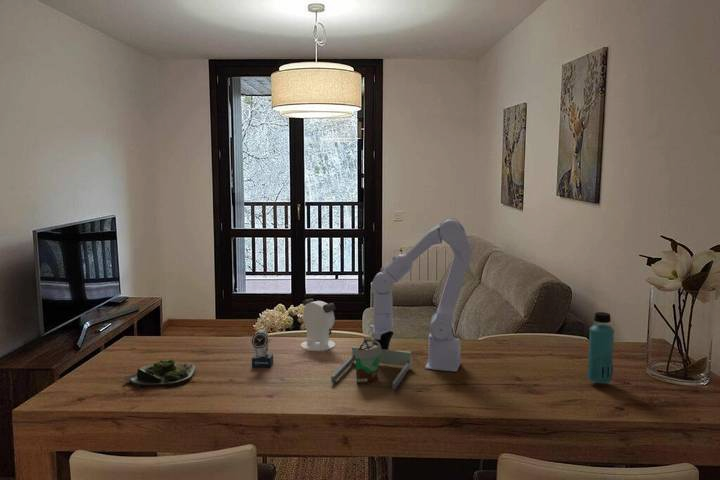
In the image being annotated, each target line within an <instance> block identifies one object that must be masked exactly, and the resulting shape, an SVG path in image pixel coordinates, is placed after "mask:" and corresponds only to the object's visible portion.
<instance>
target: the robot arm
mask: <svg viewBox="0 0 720 480" xmlns="http://www.w3.org/2000/svg"><path fill="white" fill-rule="evenodd" d="M443 242H444V243H446V244H447V245H449V246H450V249H451V250H452V252H453V253H454V254H453V257H452V260H451V264H450V267H449V271H448V273H447V278H446V281H445V284H444V287H443V290H442V294H441V296H440V301H439V304H438V306H437V308H436V311H435V313H433V314H432V316H431V318H430V326H429V331H430V332H429V334H428V356H427V357H428V360H427V363H426V365H425V367H424V369H426V370H435V371H445V372H454V373H455V372H458V370H459V368H460V365H461V363H462V361H461V359H462V358H461V349H462V348H461V347H462V344H461V343H462V342H461V339H460V338H457V337H454V334H453V327H452V323H453V317H454V313H455V312H454V311H455V307H456V304H457V302H458V298H459V296H460V292H461V289H462V285H463V282H464V278H465V276H466V273H467V270H468V269H467V268H468V265H469V262H470V260H471V257H472V247H471V245H470V242H469V240H468V236H467V232H466V230H465V228H464V226H463V225H462V223H461V222H460V221H459V220H458V219H456V218H454V217H446V218H445V219H443V220H442V221H441V223H438V224H437V225H436V226H434V227H433V228H431V229H429V230H428V232H426V233H425V235H423V236H422V238H421V239H419V240H418V241H417V242H416V243H415V244H414V246H412V247H411V248H410V249H409V250H408V251H407V252H406V253H398V254H397V255H396V254H395V255H394V256H392V258H391V259H392V260H391V261H390V262H389V263H388V264H386V265H385V267H383V266H382V267H381V268H380V271H379V272H378V273H376V275H375V276H374V278H373V279H372V288H373V303H372V304H373V307H372V308H373V324H370V325H369V329H372V331H373V332H372V334H371V335H372V339H373V340H376V341H378V342H379V343H380V345H381V349H387V350H389V347H390V344H391V340H392V337H393V335H394V334H395V333H394V331H393V330H394V325H393V323H394V322H393V315H394V314H393V312H394V311H393V305H394V304H393V303H394V302H393V299H394V298H393V286H394V284H395V283H398V282H400V280H401V279H403V277H405V276H406V275H407V274H408V273H409V272H410V271H411V270H413V268H414V267H413V266H414V265H413V262H414V261H416V260H417V259H418V258H419V257H420V256H421V255H424V253H425V252H426V251H427V250H429V249H430V248H431V247H432V246H434V245H441V244H443Z"/></svg>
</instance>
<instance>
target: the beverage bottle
mask: <svg viewBox="0 0 720 480" xmlns="http://www.w3.org/2000/svg"><path fill="white" fill-rule="evenodd" d="M593 321H594V322H597V323H594V324H593V325H591V326H590V327H589V335H588V336H589V340H588V353H587V368H586V370H587V372H586V373H587V375H586V376H587V378H588V380H589V381H590V382H593V383H596V384H610V383H612V380H613V376H614V353H615V350H614V349H615V348H614V347H615V340H614V339H615V329H614V328H613V327H612V326H611V325H609V324H607V323H610V322H611V314H610V313H608V312H603V311H601V312H600V311H598V312H597V311H596V312H595V313H594V317H593Z"/></svg>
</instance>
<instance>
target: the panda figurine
mask: <svg viewBox="0 0 720 480" xmlns="http://www.w3.org/2000/svg"><path fill="white" fill-rule="evenodd" d="M302 305H303V306H304V307H303V310H302V311H303V312H302V318H303V322H304V324H305V326H306V341H303V342H301V344H300V347H301V349H303V350H305V351H311V352H323V351H329V350H331V348H332V349H333V347H334V348H335V346H336V343H335V342H334V341H333V340H329V337H330V335H332V327H333V326H334V324H335V322H336V316H335V310H336V305H335V304H334V302H330V303H327V302H325V301H322V300H316V301H315V300H314V298H308V299H304V300H303V301H302ZM328 349H329V350H328Z"/></svg>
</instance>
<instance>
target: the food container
mask: <svg viewBox="0 0 720 480" xmlns="http://www.w3.org/2000/svg"><path fill="white" fill-rule="evenodd" d="M359 347H360V348H359V350H356V354H355V358H356V361H355V370H356V371H355V374H356V385H369V384H373V383H375V382H377V381H378V379H379V378H378V377H379V376H378V375H379V365H380V363H379V354H381V352H382V350H381V345H380V343H379V342H378V341H376V340H374V339H373V338H367V337H365V338H363V343H362V344H360V346H359Z"/></svg>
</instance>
